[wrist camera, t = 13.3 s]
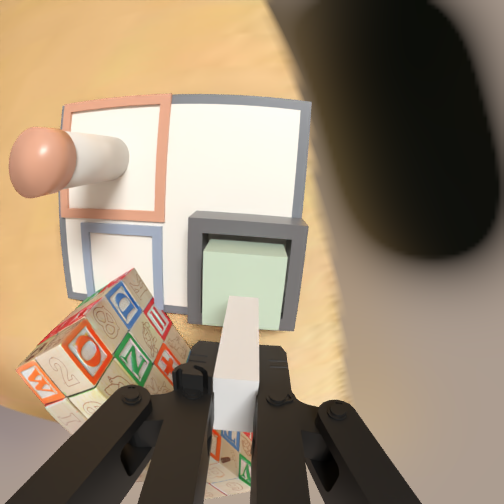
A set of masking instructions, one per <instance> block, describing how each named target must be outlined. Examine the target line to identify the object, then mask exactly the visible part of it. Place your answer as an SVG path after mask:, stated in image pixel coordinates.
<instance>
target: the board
mask: <svg viewBox="0 0 504 504" xmlns="http://www.w3.org/2000/svg"><path fill="white" fill-rule="evenodd" d="M311 103H312V102H307V101H299V100H291V99H281V98H271V97H258V96H243V95H217V94H178V95H172V94H151V95H137V96H125V97H115V98H106V99H98V100H90V101H84V102H77V103H71V104H65V106H63V109H62V119H61V130H63V131H69V132H78V133H87V134H96V135H103V136H111V137H117V138H119V139H121V140H122V141H123V142H124V143H125V144H126V146H127V147H128V150H129V164H128V167H127V169H126V171H125V172H124V173H123V175H122V176H120V177H119V178H117V179H115V180H112V181H106V182H100V183H94V184H89V185H83V186H78V187H73V188H68V189H63V190H61V191H59V218H60V234H61V246H62V256H63V265H64V273H65V280H66V287H67V293H68V298H71V299H77V300H83V301H84V300H85V299H86V298H87V297H90V296H91V295H93V294H94V293H96V291H98V290H100V289H101V288H103V287H104V286H106V285H108V284H109V283H110V282H111V281H113V280H115V279H116V278H118V277H119V276H121V275H123V274H124V273H126V272H128V271H129V270H131V269H132V268H135V269H136V271H137V272H138V274H139V276H140V277H141V279H142V280H143V282H144V283H145V285H146V286H147V288H148V289H149V291H150V292H151V294H152V296H153V298H154V303H155V305H156V306H157V308H158V309H159V310H163V312H167V313H176V314H185V315H188V310H187V247H188V217H189V216H190V215H192V214H193V213H194V212H195V211H213V212H229V213H243V214H256V215H269V216H281V217H293V218H302V210H303V200H304V190H305V180H306V169H307V157H308V145H309V132H310V118H311ZM210 239H218V240H232V241H246V242H259V243H272V244H283V245H284V248H285V249H286V240H287V239H278V238H265V237H251V236H238V235H224V234H210V233H209V234H208V242H209V241H210Z"/></svg>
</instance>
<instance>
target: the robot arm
mask: <svg viewBox="0 0 504 504" xmlns="http://www.w3.org/2000/svg"><path fill="white" fill-rule="evenodd" d="M172 379H173V389H174V390H173V391H171V392H169V393H165V394H154V395H150V393H149V391H148V390H147V389H146V388H144V387H142V386H139V385H126V386H123V387H120V388H119V389H118V390H116V391H115V392H114V393H113V394H112V395H111V396H110V397H109V398H108V399H107V400H106V401H105V402H104V403H103V404H102V405H101V406H100V407H99V408H98V409H97V410H96V411H95V413H94V414H93V415H92V416H91V417H90V418H89V419H88V420H87V421H86V422H85V423H84V424H83V425H82V426H81V427H80V428H79V429H78V430H77V431H76V432H75V433H74V434H73V435H72V436H71V437H70V438H69V439H68V440H67V441H66V442H65V443H64V444H63V445H62V446H61V447H60V448H59V449H58V450H57V451H56V452H55V453H54V454H53V455H52V456H51V457H50V458H49V460H47V461H46V462H45V463H44V464H43V465H42V466H41V467H40V468H39V469H38V471H36V472H35V474H34V475H33V476H32V477H31V478H30V479H29V480H28V481H27V482H26V483H25V484H24V485H23V486H22V487H21V488H20V489H19V490H18V491H17V492H16V493H15V494H14V495H13V496H12V497H11V498H10V499H9V500H8V501H7V502H6V503H5V504H120V503H121V502H122V500H123V499H124V497H125V496H126V494H127V493H128V492H129V490H130V489H131V487H132V486H133V484H134V483H135V482H136V480H137V479H138V477H139V476H140V475H141V473H142V472H143V470H144V469H145V467H146V466H147V464H148V463H149V461H150V460H151V461H150V464H149V468H148V471H147V474H146V477H145V481H144V484H143V487H142V491H141V494H140V498H139V501H138V504H203V502H204V495H205V488H206V481H207V474H208V467H209V460H210V453H211V446H212V430H213V429H216V430H227V431H239V432H253V437H252V445H251V452H250V454H251V490H250V504H310V496H309V488H308V480H307V472H306V465H307V467H308V469H309V471H310V473H311V475H312V477H313V479H314V481H315V484H316V486H317V488H318V490H319V492H320V494H321V496H322V498H323V501H324V502H325V504H422V503H421V502H420V501H419V499H418V498H417V496H416V495H415V494H414V492H413V491H412V489H411V488H410V487H409V485H408V484H407V482H406V481H405V480H404V478H403V477H402V475H401V474H400V473H399V471H398V470H397V468H396V467H395V466H394V464H393V463H392V461H391V460H390V459H389V457H388V456H387V454H386V453H385V452H384V450H383V449H382V447H381V446H380V444H379V443H378V442H377V440H376V439H375V437H374V436H373V435H372V433H371V432H370V431H369V429H368V428H367V426H366V425H365V423H364V422H363V420H362V419H361V418H360V416H359V415H358V413H357V412H356V410H355V409H354V408H353V407H352V406H351V405H350V404H348V403H346V402H344V401H340V400H329V401H326V402H323V403H322V404H321V405H320V406H319V407H316V406H311V405H307V404H304V403H302V402H300V401H299V400H297V399H296V397H295V395H294V394H293V393H292V391H291V384H290V377H289V370H288V363H287V356H286V352H285V351H284V350H283V349H282V347H281V346H269V345H259V298H254V297H241V296H229V299H228V304H227V309H226V314H225V319H224V324H223V329H222V334H221V339H220V343H218V342H208V341H198V342H197V343H196V344H195V345H194V346H193V347H192V350H191V353H190V356H189V359H188V362H187V363H184V364H180V365H179V366H177V367H175V368H174V370H173V371H172ZM305 462H306V465H305Z"/></svg>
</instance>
